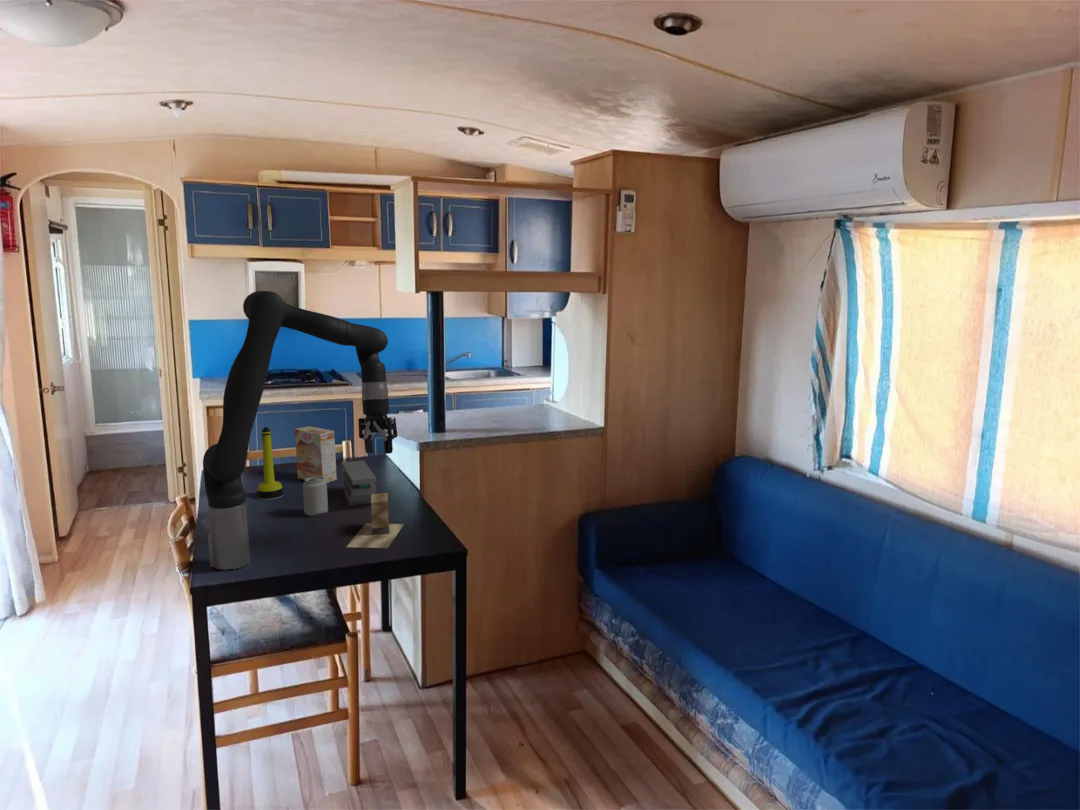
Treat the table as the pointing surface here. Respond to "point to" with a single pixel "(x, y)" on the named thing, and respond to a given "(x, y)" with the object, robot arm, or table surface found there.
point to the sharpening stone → (358, 482)
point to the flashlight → (268, 471)
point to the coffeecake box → (315, 453)
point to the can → (315, 496)
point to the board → (374, 537)
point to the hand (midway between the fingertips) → (379, 453)
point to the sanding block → (379, 513)
